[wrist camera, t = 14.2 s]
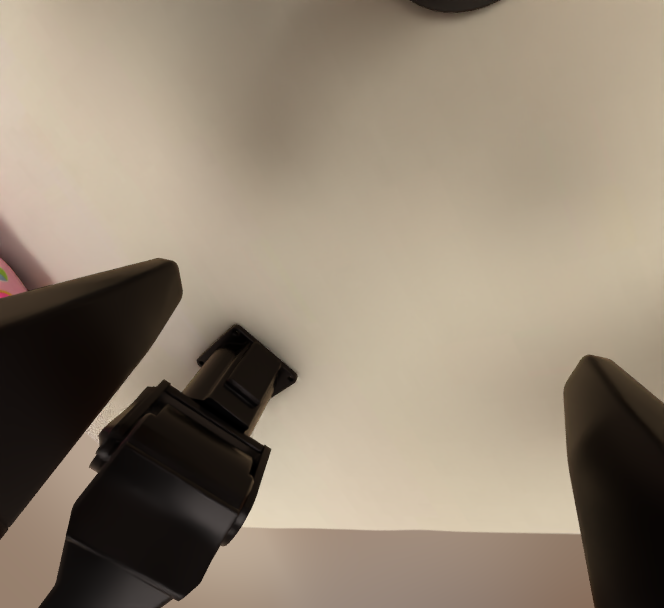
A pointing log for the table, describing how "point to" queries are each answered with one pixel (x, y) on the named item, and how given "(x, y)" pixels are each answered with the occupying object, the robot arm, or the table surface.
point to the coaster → (453, 4)
